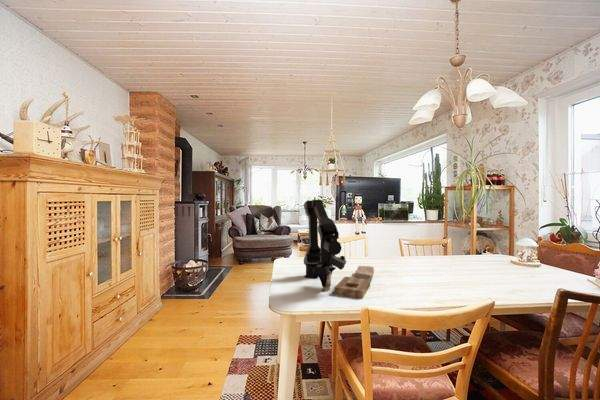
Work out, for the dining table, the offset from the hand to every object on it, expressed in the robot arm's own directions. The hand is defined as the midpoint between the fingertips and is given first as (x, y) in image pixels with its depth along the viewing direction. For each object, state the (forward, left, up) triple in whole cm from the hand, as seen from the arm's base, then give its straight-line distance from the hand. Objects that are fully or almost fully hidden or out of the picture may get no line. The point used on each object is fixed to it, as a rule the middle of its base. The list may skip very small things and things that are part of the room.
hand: (326, 285), depth 127 cm
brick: (+12, +27, -3) cm, 30 cm away
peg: (0, 0, -2) cm, 2 cm away
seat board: (+11, +5, -2) cm, 12 cm away
